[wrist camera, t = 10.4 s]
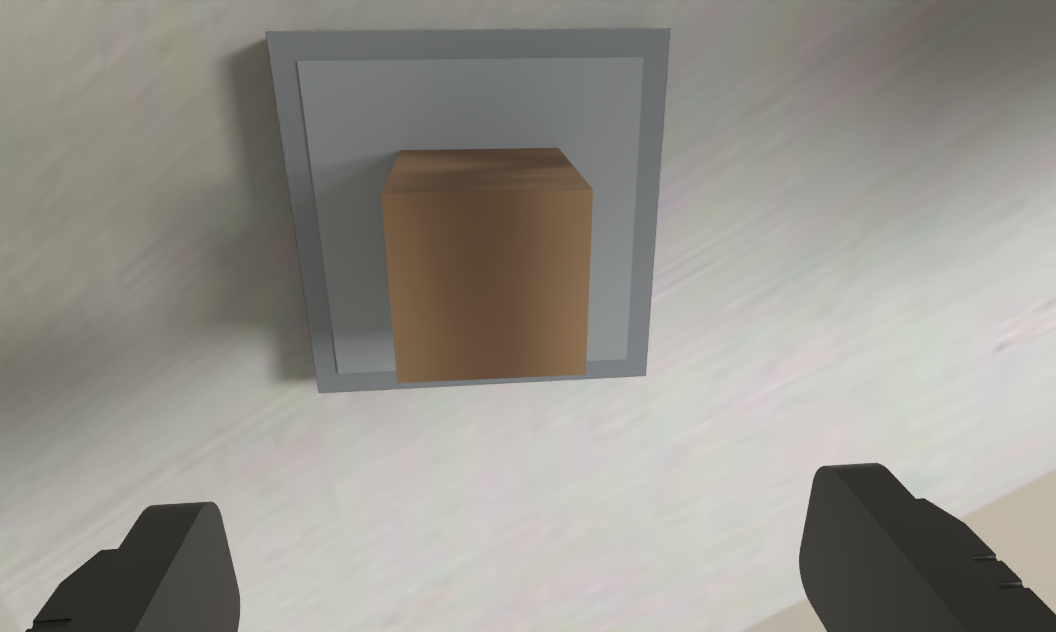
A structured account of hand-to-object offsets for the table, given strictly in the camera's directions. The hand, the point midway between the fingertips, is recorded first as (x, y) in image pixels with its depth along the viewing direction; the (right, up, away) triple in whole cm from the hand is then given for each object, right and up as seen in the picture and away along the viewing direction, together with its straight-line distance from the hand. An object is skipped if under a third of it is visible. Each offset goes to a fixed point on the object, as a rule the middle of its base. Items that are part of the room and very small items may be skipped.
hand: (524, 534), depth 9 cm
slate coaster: (-2, +7, +15) cm, 17 cm away
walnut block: (-1, +6, +13) cm, 15 cm away
